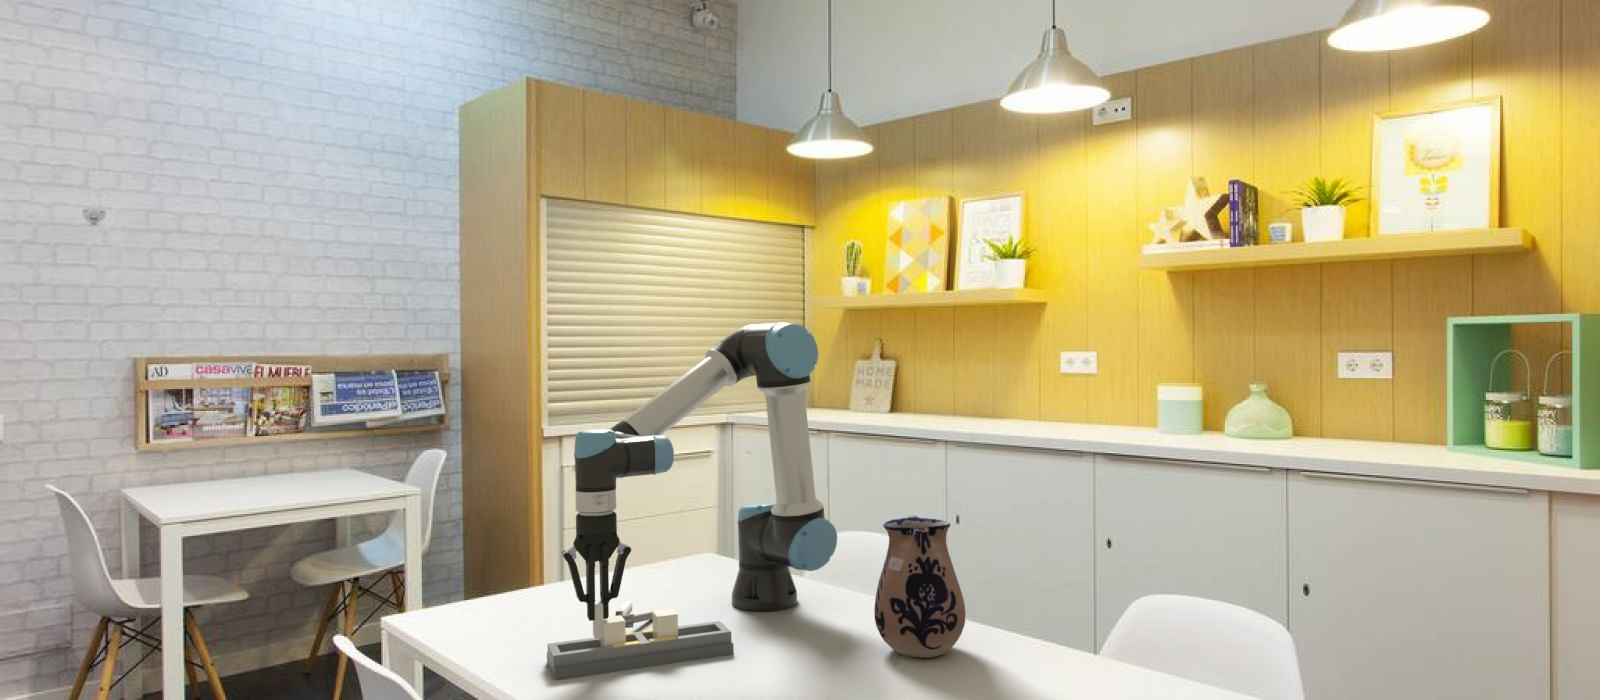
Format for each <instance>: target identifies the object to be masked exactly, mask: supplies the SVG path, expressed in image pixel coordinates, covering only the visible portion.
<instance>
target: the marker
mask: <svg viewBox="0 0 1600 700" xmlns="http://www.w3.org/2000/svg"><path fill="white" fill-rule="evenodd" d="M632 609H633V603H632V601H630V600H627V601H625V602H623V604H622V605H621V607H619V609H618V610H617V611H623V615H626V614H629V612H630V611H631V610H632ZM615 615H616V613H614V615H613V616H615Z"/></svg>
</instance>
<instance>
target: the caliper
mask: <svg viewBox="0 0 1600 700" xmlns="http://www.w3.org/2000/svg"><path fill="white" fill-rule="evenodd" d="M615 614H616V615H615ZM615 614H614V615H615V616H619V615H621V616H622V617H623V619H624V620H625V629H626V628H627V629H630V628H633V627H634V624H636V623H641V622H646V621H650V620H653V618H652V611H649V612H643V613H638V614H633V613H628V614H626V615H623V611H618V610H615Z"/></svg>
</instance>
